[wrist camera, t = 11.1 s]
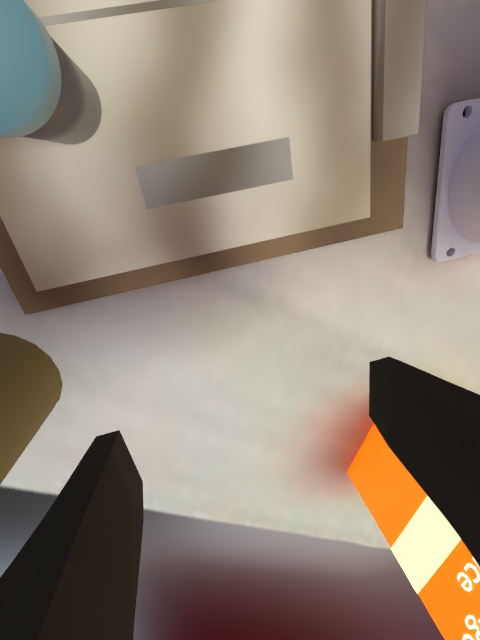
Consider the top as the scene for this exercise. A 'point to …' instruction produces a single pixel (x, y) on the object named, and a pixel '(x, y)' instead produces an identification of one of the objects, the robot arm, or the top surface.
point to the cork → (23, 396)
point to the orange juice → (420, 539)
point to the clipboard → (212, 140)
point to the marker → (41, 83)
